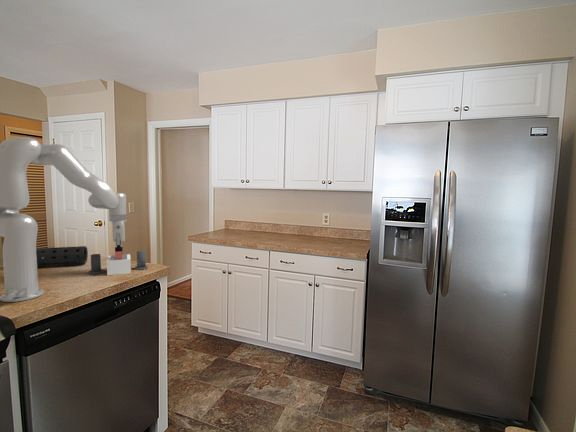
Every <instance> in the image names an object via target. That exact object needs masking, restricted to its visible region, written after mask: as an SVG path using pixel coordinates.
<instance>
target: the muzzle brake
mask: <svg viewBox="0 0 576 432" xmlns="http://www.w3.org/2000/svg"><path fill="white" fill-rule="evenodd" d="M36 254H37V269H38V268H45V267H46V266H57V267H60V266H64V267H65V266H78V265H79V266H81V265H86V263H87V261H88V258H89V257H88V256H89V255H88V254H89V253H88V248H87V246H83V245H81V246H63V247H62V246H61V247H58V246H57V247H40V248H37V247H36Z"/></svg>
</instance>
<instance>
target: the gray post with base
mask: <svg viewBox="0 0 576 432" xmlns="http://www.w3.org/2000/svg"><path fill="white" fill-rule="evenodd" d="M101 261H102V260H101V254H100V253H93V254H90V270H89V271H88V275H101V274H103V273H104V269H102V262H101Z"/></svg>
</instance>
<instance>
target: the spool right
mask: <svg viewBox="0 0 576 432" xmlns="http://www.w3.org/2000/svg"><path fill="white" fill-rule="evenodd" d="M146 261H147V260H146V250H137V251H136V266H135V267H134V270H135V271H144V269H145V270H148V269H149V266H148V265H146ZM147 268H148V269H147Z"/></svg>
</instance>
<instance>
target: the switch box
mask: <svg viewBox="0 0 576 432" xmlns="http://www.w3.org/2000/svg"><path fill="white" fill-rule="evenodd" d="M131 260H132V258H131V254H130V253H128V254H127V253H123V255H122V259H115V254H112V255H107V259H106V274H107V276H114V275H116V276H117V275H125V274H126V275H127V274H131V272H132V268H131V267H132V265H131V264H132V263H131Z"/></svg>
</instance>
